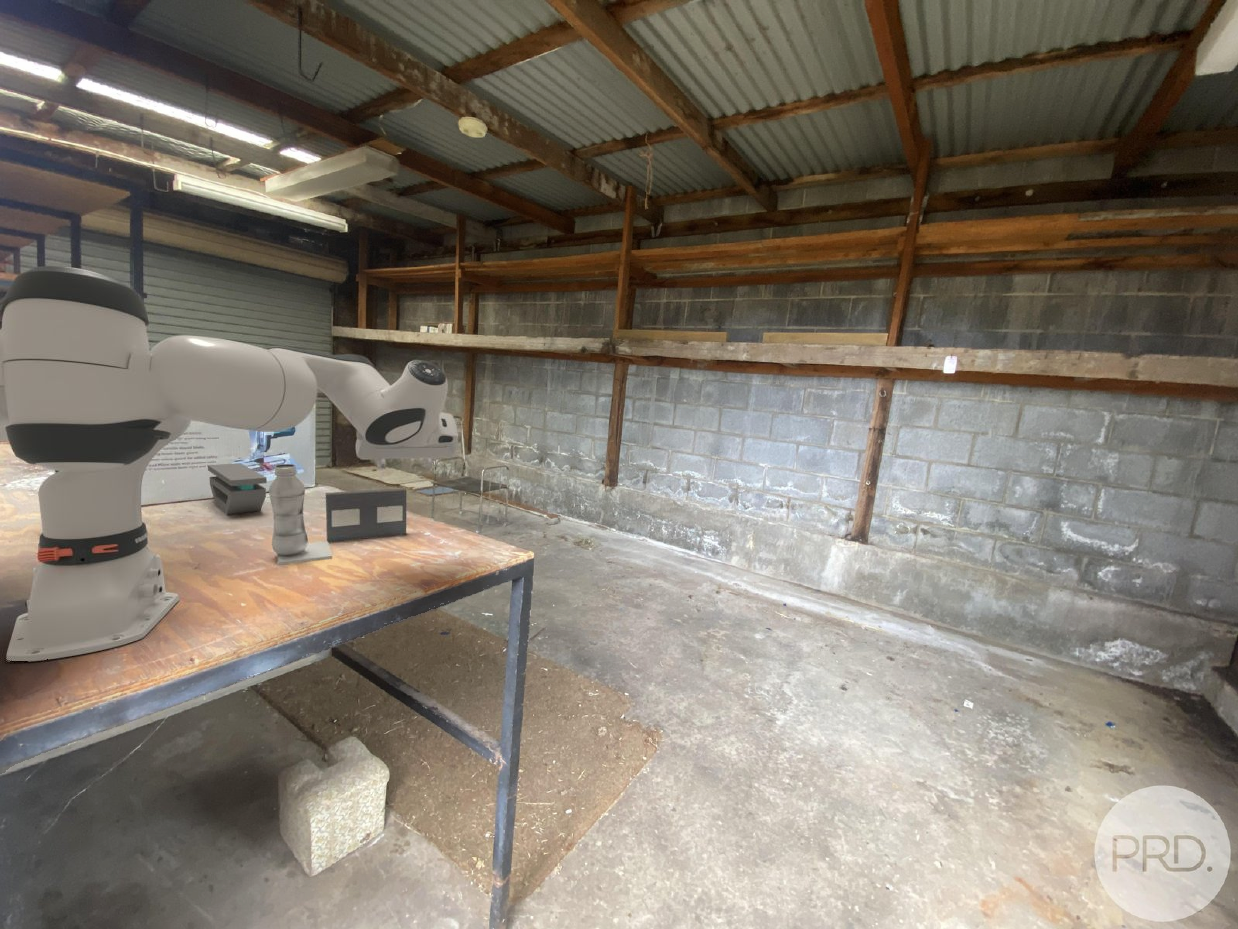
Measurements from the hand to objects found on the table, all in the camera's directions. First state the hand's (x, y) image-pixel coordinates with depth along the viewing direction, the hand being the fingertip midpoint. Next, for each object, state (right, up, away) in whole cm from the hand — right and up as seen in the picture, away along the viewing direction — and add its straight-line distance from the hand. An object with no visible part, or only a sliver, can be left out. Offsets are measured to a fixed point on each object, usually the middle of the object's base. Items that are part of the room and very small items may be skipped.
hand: (404, 465), depth 112 cm
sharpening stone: (-61, -13, +31) cm, 70 cm away
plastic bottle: (-25, -20, -1) cm, 32 cm away
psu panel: (-16, -18, +15) cm, 28 cm away
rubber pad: (-23, -20, +1) cm, 31 cm away
